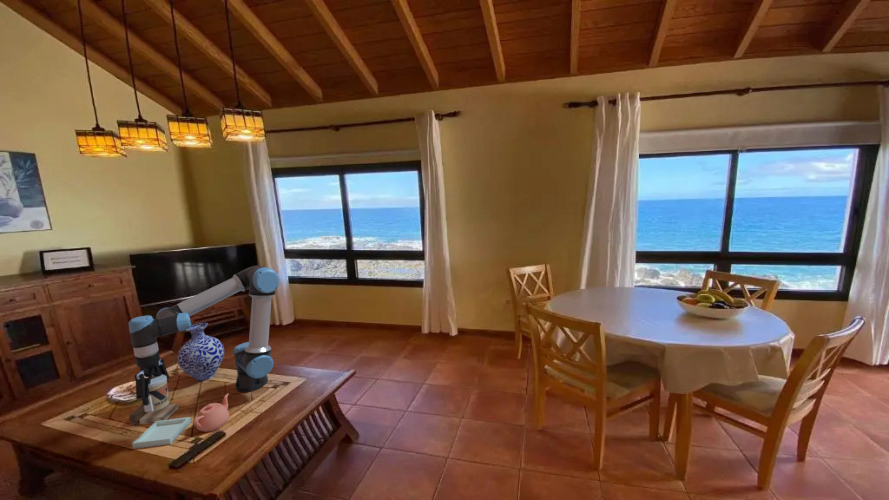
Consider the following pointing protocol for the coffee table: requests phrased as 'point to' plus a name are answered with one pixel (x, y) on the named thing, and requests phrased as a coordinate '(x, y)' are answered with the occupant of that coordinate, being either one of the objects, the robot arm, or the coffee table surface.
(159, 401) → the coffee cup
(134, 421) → the block
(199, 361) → the vase
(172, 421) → the tray
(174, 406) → the grey wooden square slab
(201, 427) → the teapot
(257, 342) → the robot arm
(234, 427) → the coffee table surface
